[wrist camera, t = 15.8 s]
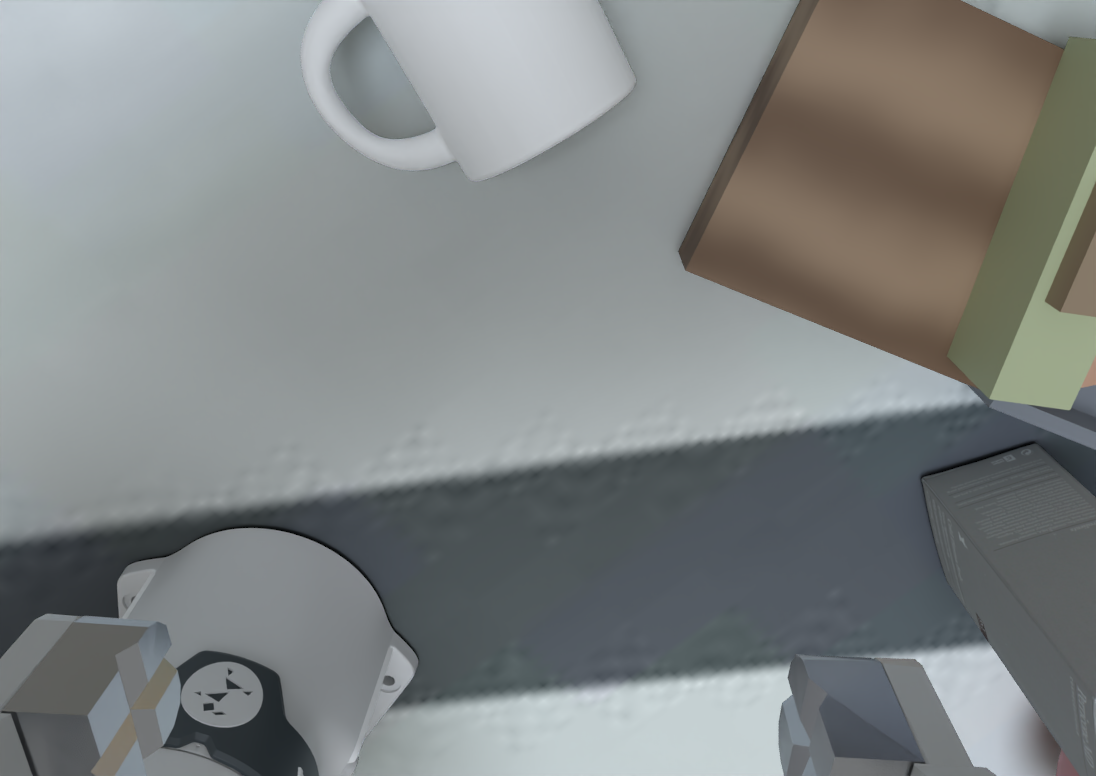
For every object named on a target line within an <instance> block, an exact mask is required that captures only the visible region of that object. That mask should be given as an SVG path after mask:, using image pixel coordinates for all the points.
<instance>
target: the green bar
mask: <svg viewBox="0 0 1096 776" xmlns="http://www.w3.org/2000/svg"><path fill="white" fill-rule="evenodd" d="M1095 356H1096V39H1088V38H1078V37H1069V39H1068V42H1067V44H1066V47H1065V49H1064V52H1063V55H1062V57H1061V60H1060V62H1059V65H1058V68H1057V70H1056V73H1055V75H1054V78H1053V81H1052V83H1051V86H1050V88H1049V91H1048V94H1047V96H1046V99H1045V101H1044V104H1043V107H1042V109H1041V112H1040V115H1039V117H1038V120H1037V122H1036V125H1035V128H1034V130H1033V133H1032V135H1031V138H1030V141H1029V143H1028V146H1027V148H1026V151H1025V154H1024V156H1023V159H1022V161H1021V164H1020V167H1019V169H1018V172H1017V174H1016V177H1015V180H1014V182H1013V185H1012V187H1011V190H1010V193H1009V195H1008V198H1007V200H1006V203H1005V206H1004V208H1003V211H1002V213H1001V216H1000V219H999V221H998V224H997V227H996V229H995V232H994V234H993V237H992V240H991V242H990V245H989V247H988V250H987V253H986V255H985V258H984V260H983V263H982V266H981V268H980V271H979V273H978V276H977V279H976V281H975V284H974V286H973V289H972V292H971V294H970V297H969V299H968V302H967V305H966V307H965V310H964V312H963V315H962V318H961V320H960V323H959V325H958V328H957V331H956V333H955V336H954V339H953V341H952V344H951V346H950V349H949V352H948V354H947V357H948V358H949V359H950V360H951V361H952V362H953V363H954V364H955V365H956V366H957V367H958V368H959V369H960V370H961V371H962V372H963V373H964V374H965V375H966V376H967V377H968V378H969V379H970V380H971V381H972V382H973V383H974V384H975V385H976V386H977V387H978V388H979V389H980V390H981V391H982V392H983V393H984V394H985V395H986V396H987V397H988V398H989V399H992V400H999V401H1006V402H1014V403H1021V404H1028V405H1035V406H1042V407H1049V408H1057V409H1064V410H1070V409H1071V407H1072V405H1073V403H1074V401H1075V399H1076V397H1077V394H1078V392H1079V390H1080V388H1081V386H1082V384H1083V382H1084V380H1085V377H1086V375H1087V373H1088V371H1089V369H1090V367H1091V365H1092V363H1093V361H1094V358H1095Z"/></svg>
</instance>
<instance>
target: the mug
mask: <svg viewBox="0 0 1096 776" xmlns="http://www.w3.org/2000/svg"><path fill="white" fill-rule="evenodd" d="M366 17H371V18H372V19H373V21H374V23H375V24H376V26H377V28H378V29H379V31H380V33H381V34H382V36H383V38H384V39H385V41H386V43H387V45H388V46H389V48H390V50H391V51H392V53H393V55H394V56H395V58H396V60H397V61H398V63H399V65H400V66H401V68H402V70H403V71H404V73H405V75H406V76H407V78H408V80H409V81H410V83H411V85H412V86H413V88H414V90H415V91H416V93H417V95H418V96H419V98H420V100H421V101H422V103H423V105H424V106H425V108H426V110H427V111H428V113H429V115H430V116H431V118H432V120H433V121H434V123H435V125H436V127H435V129H434V130H432V131H430V132H427V133H425V134H422V135H418V136H415V137H410V138H404V139H388V138H383V137H380V136H378V135H375V134H373V133H372V132H370V131H369V130H367V129H366V128H365V127H364V126H363V125H362V124H361V123H360V122H359V121H358V120H357V119H356V118H355V117H354V116H353V115H352V114H351V112H350V111H349V110H348V109H347V107H346V106H345V105H344V103H343V102H342V100H341V99H340V97H339V95H338V94H337V92H336V90H335V88H334V85H333V83H332V79H331V74H330V66H331V61H332V58H333V55H334V53H335V51H336V49H337V48H338V46H339V45H340V43H341V42H342V40H343V39H344V38H345V37H346V36H347V34H348V33H349V32H350V31H351V30H352V29H353V28H354V27H355V26H356V25H358V24H359V23H360V22H361V21H362V20H363V19H364V18H366ZM301 68H302V74H303V78H304V82H305V85H306V88H307V91H308V93H309V95H310V97H311V99H312V102H313V103H314V105H315V107H316V109H317V110H318V112H319V113H320V115H321V116H322V117H323V119H324V120H325V121H326V123H327V124H328V125H329V126H330V127H331V128H332V130H333V131H334V132H335V133H336V134H337V135H338V136H339V137H340V138H341V139H342V140H344V141H345V142H346V143H347V144H348V145H350V146H351V147H352V148H353V149H355V150H356V151H358V152H359V153H361V154H362V155H364V156H365V157H367V158H369V159H371V160H373V161H375V162H377V163H379V164H382V165H384V166H387V167H390V168H394V169H398V170H405V171H422V170H428V169H433V168H437V167H440V166H444V165H447V164H449V163H451V162H455V161H456V162H458V163H459V165H460V167H461V168H462V170H463V172H464V173H465V175H466V177H467V178H468V179H469V180H470V181H474V182H478V181H483V180H486V179H489V178H492V177H495V176H497V175H500V174H502V173H504V172H506V171H508V170H511V169H513V168H515V167H517V166H519V165H521V164H523V163H525V162H526V161H528V160H530V159H532V158H534V157H536V156H538V155H539V154H541V153H543V152H545V151H547V150H548V149H550V148H552V147H553V146H555V145H557V144H559V143H560V142H562V141H564V140H565V139H567V138H568V137H570V136H572V135H573V134H575V133H577V132H578V131H580V130H581V129H583V128H584V127H586V126H587V125H589V124H590V123H592V122H593V121H595V120H596V119H598V118H599V117H601V116H602V115H603V114H605V113H606V112H608V111H609V110H610V109H612V108H613V107H614V106H615V105H617V104H618V103H619V102H620V101H622V100H623V99H624V98H625V97H626V96H627V95H628V94H629V93H630V92H631V91H632V90H633V88H634V87H635V85H636V77H635V75H634V73H633V71H632V69H631V67H630V65H629V63H628V61H627V59H626V57H625V54H624V52H623V50H622V48H621V46H620V44H619V42H618V40H617V38H616V36H615V34H614V32H613V30H612V28H611V26H610V24H609V22H608V20H607V18H606V16H605V13H604V11H603V9H602V7H601V5H600V3H599V1H598V0H323V1H322V2H321V3H320V4H319V6H318V7H317V8H316V10H315V11H314V13H313V14H312V16H311V18H310V20H309V22H308V24H307V26H306V29H305V32H304V35H303V39H302V44H301Z"/></svg>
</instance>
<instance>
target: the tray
mask: <svg viewBox="0 0 1096 776" xmlns="http://www.w3.org/2000/svg"><path fill="white" fill-rule="evenodd" d="M967 385H968V384H967ZM968 386H969V387H970V388H971V389H972V390H973V391H974V392H975V393H976V394H977V395H978V396H979V397H980V398H981V399H982V400H983V401H984V402H985V403H986V405H987V406H988V407H990V408H993V409H995V410H998V411H1000V412H1003V413H1005V414H1008V415H1010V416H1013V417H1015V418H1017V419H1020V420H1022V421H1025V422H1027V423H1030V424H1032V425H1035V426H1037V427H1040V428H1042V429H1045V430H1047V431H1050V432H1052V433H1055V434H1057V435H1060V436H1062V437H1065V438H1067V439H1070V440H1072V441H1075V442H1077V443H1080V444H1082V445H1085V446H1087V447H1090V448H1092V449H1095V450H1096V385H1093V386H1088V387H1083V388H1080V390H1079V392H1078V394H1077V397H1076V399H1075V401H1074V403H1073V405H1072V407H1071V409H1070V410H1064V409H1057V408H1049V407H1042V406H1035V405H1028V404H1021V403H1014V402H1006V401H999V400H992V399H989V398H988V397H987V396H986V395H985V394H984V393H983V392H982V391H981V390H980V389H977V388H975V387H973V386H970V385H968Z"/></svg>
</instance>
